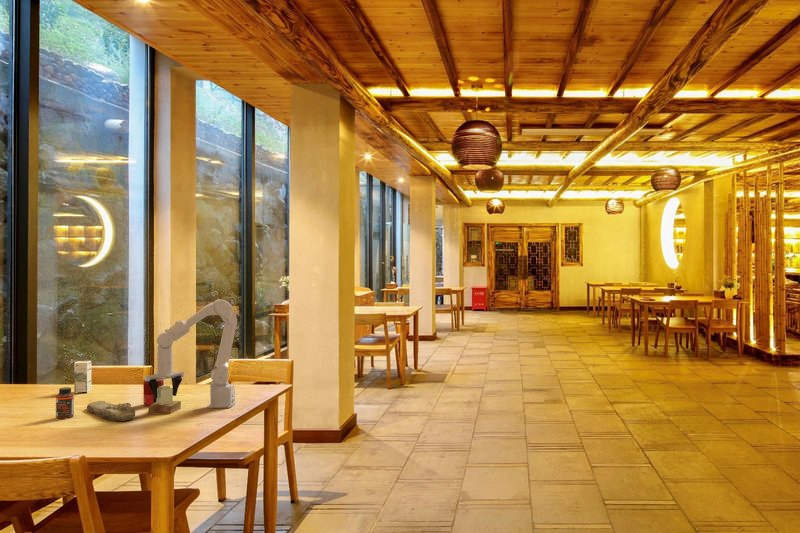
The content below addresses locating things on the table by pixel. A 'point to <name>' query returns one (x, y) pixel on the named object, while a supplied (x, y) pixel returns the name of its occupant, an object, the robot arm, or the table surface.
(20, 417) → the table surface
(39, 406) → the table surface
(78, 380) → the syrup box
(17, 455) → the table surface
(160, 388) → the cream cube with panel
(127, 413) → the long grey stone
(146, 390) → the canned food
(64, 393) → the supplement bottle
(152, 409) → the walnut box
